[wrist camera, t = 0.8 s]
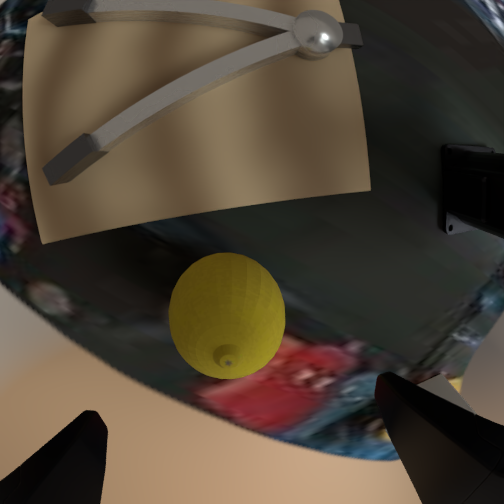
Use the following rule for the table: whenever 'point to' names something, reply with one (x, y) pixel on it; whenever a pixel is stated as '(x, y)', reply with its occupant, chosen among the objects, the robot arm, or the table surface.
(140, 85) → the board
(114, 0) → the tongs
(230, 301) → the lemon
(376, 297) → the table surface
